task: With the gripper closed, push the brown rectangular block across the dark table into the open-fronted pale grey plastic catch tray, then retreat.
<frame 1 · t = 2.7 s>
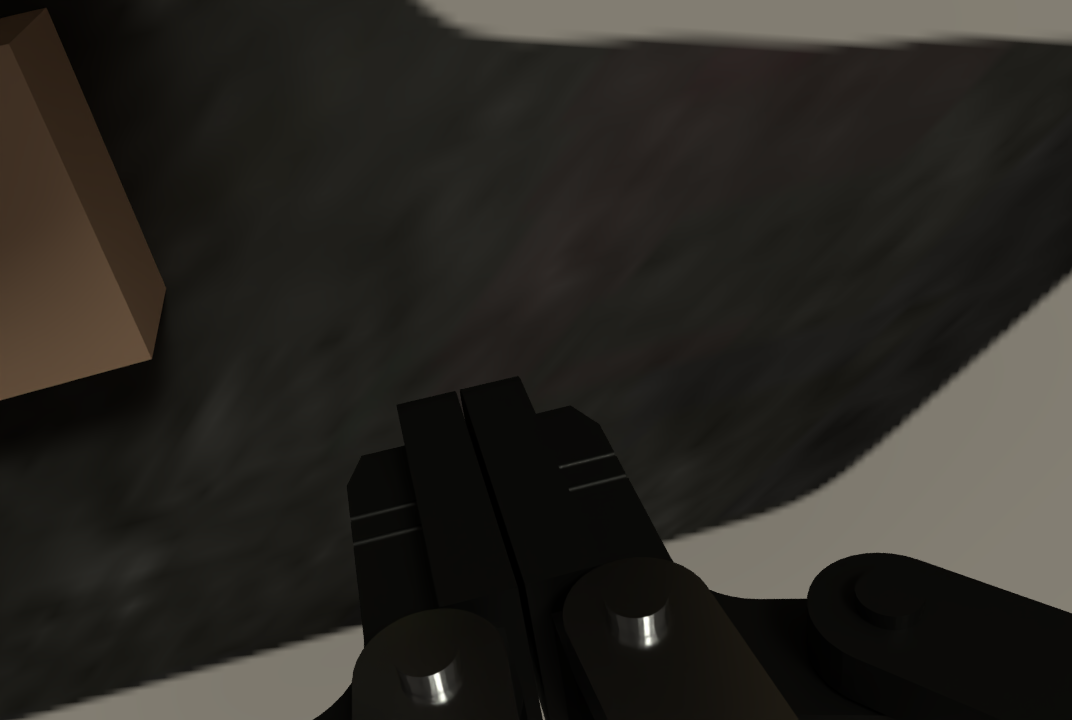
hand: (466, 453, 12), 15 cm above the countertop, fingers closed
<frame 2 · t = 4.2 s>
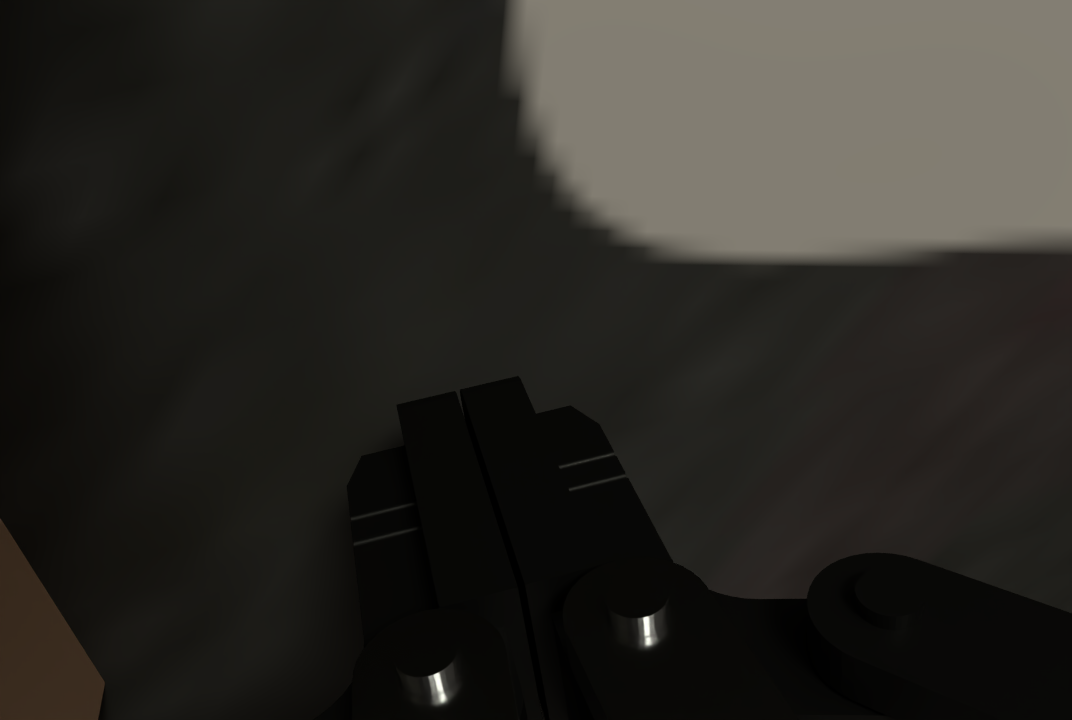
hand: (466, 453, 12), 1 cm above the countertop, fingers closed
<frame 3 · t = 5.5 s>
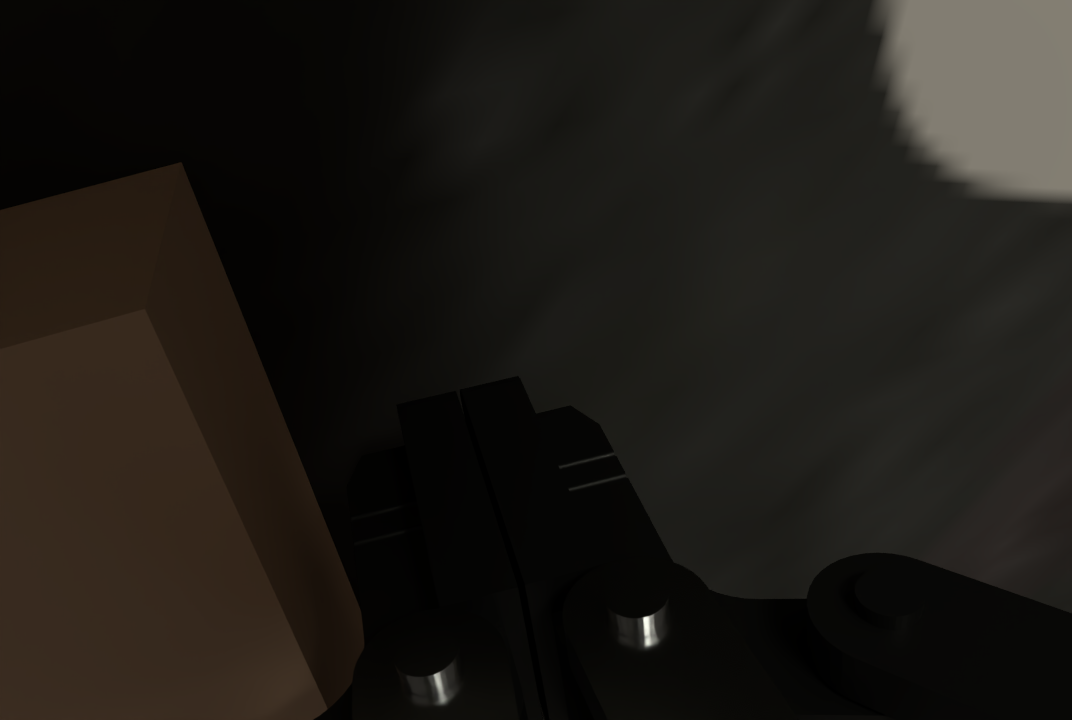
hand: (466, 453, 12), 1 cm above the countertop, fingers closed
brown rectangular block: (12, 488, 13), on the countertop
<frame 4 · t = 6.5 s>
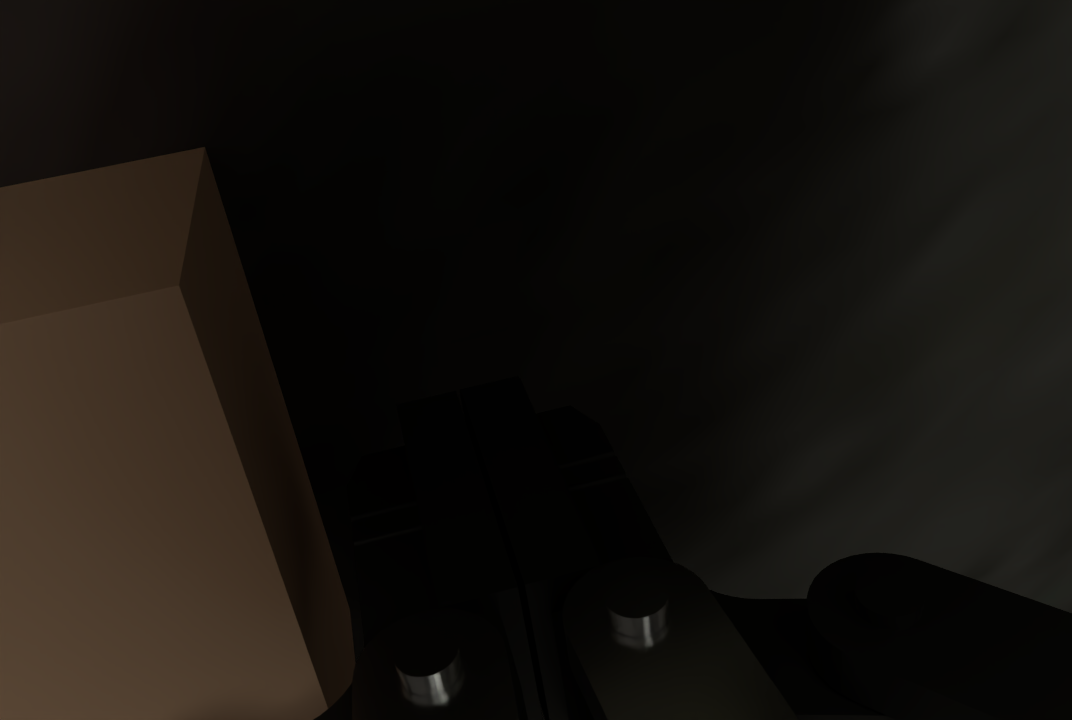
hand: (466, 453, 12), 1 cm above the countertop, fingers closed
brown rectangular block: (7, 466, 12), on the countertop, touching gripper
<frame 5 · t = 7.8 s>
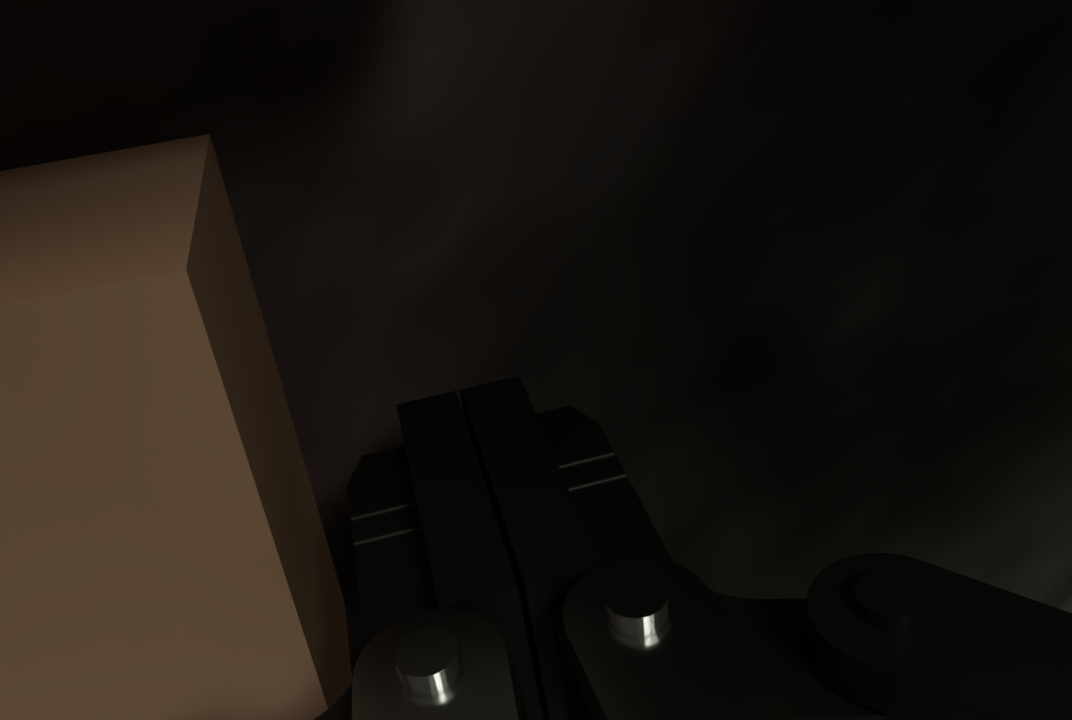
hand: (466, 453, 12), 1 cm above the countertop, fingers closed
brown rectangular block: (4, 451, 12), on the countertop
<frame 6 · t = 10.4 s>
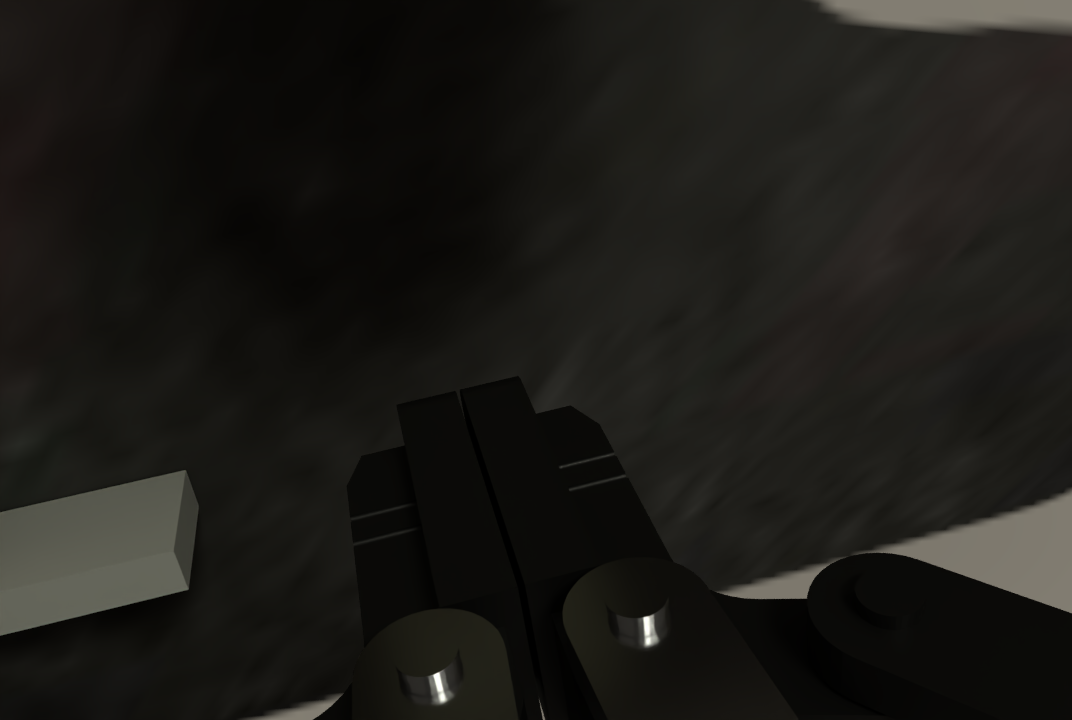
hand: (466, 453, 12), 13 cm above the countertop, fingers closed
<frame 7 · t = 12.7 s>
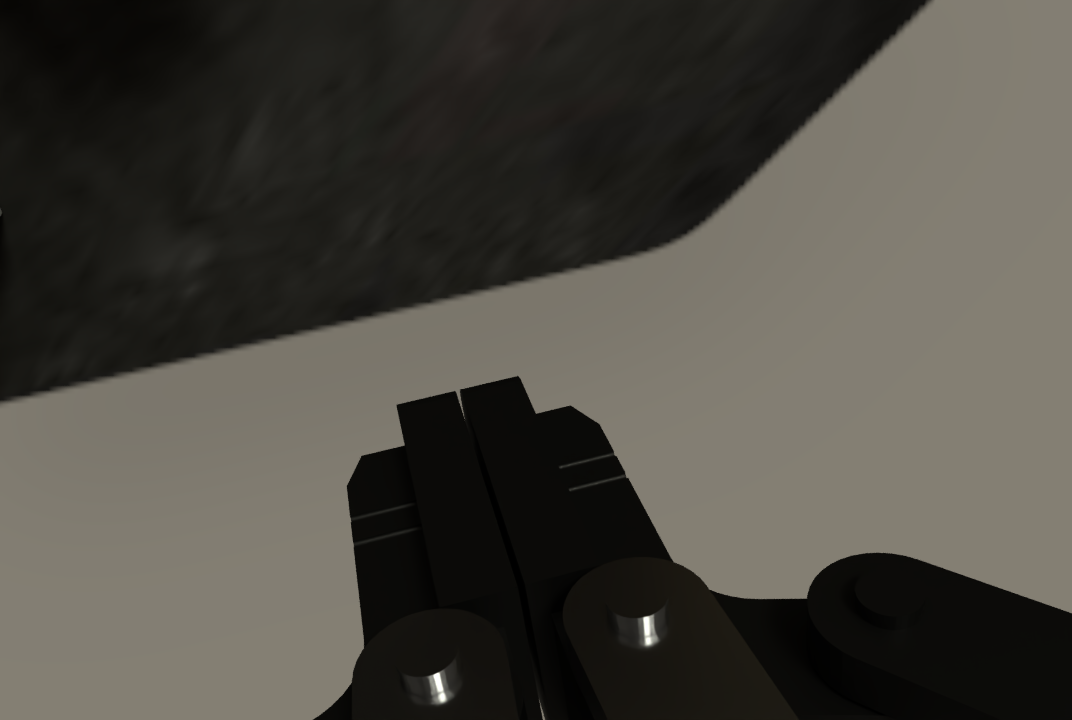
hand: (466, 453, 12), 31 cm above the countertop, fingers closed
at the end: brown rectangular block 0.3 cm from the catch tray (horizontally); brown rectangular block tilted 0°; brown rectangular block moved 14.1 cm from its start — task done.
